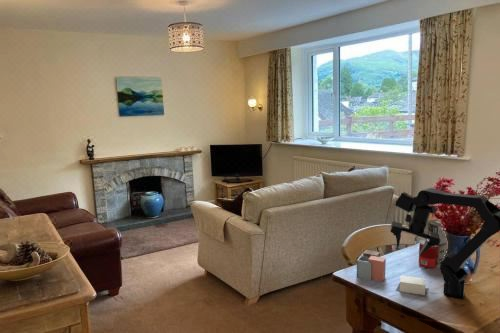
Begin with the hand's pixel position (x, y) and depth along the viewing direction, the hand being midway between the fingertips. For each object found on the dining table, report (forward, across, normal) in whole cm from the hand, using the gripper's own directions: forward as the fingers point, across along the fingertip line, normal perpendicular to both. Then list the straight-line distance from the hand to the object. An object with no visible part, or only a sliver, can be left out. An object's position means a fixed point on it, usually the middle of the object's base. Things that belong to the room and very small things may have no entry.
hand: (408, 250), depth 166 cm
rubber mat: (+10, -4, +12) cm, 16 cm away
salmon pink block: (+15, +9, +5) cm, 18 cm away
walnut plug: (+16, +11, -1) cm, 20 cm away
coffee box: (+13, -17, -28) cm, 35 cm away
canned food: (+12, -12, -15) cm, 23 cm away
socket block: (+16, +13, +1) cm, 21 cm away
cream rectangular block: (+10, -4, +12) cm, 16 cm away
